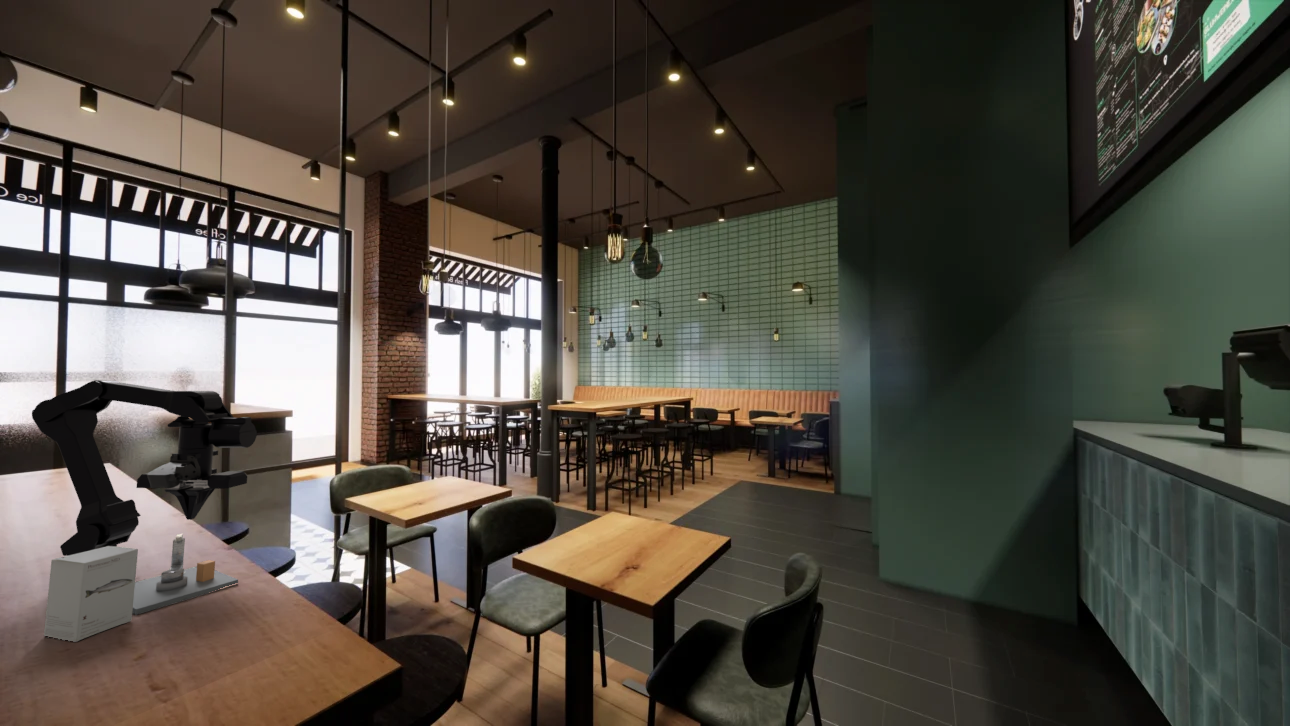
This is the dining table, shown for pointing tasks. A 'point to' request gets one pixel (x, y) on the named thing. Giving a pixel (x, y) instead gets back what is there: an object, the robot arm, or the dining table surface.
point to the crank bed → (179, 587)
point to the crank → (175, 562)
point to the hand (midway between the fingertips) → (190, 519)
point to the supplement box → (90, 592)
